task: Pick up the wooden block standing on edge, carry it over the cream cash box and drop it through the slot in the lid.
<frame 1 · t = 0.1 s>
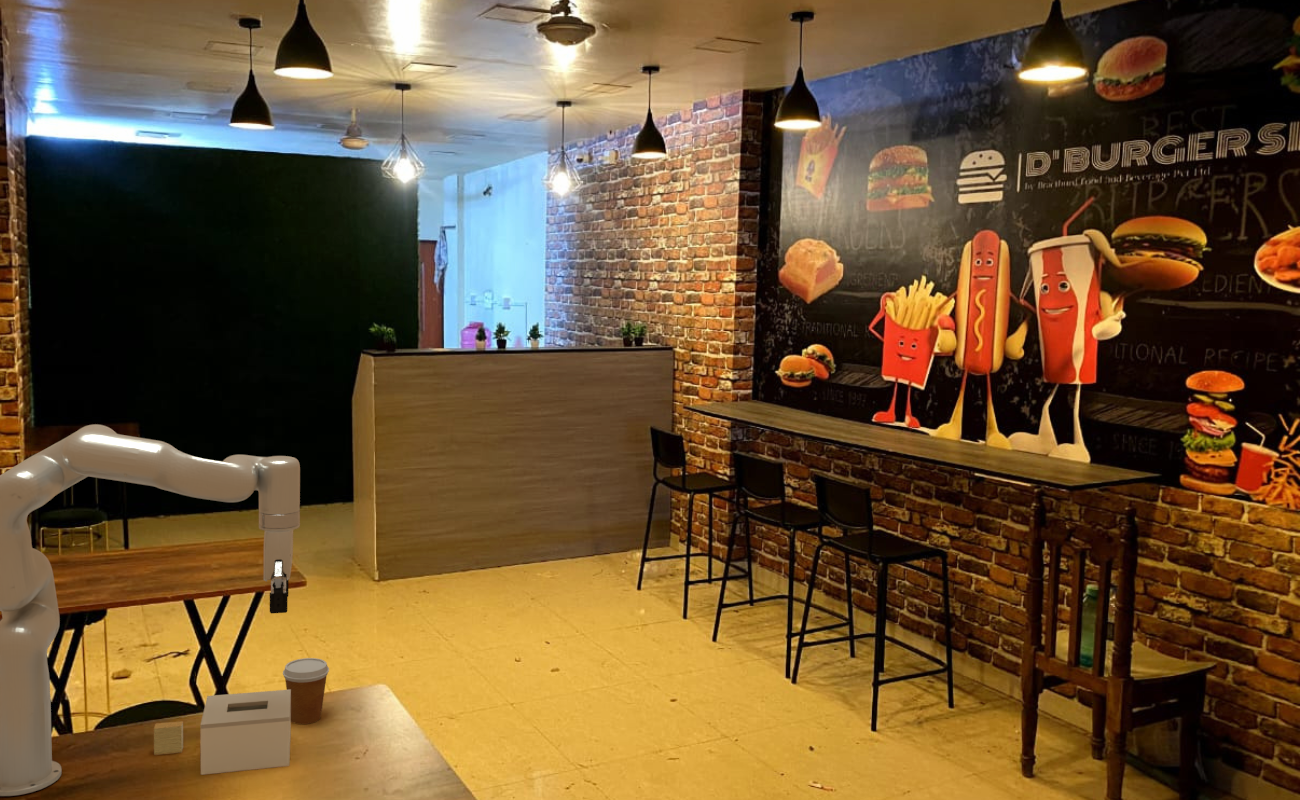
hand: (279, 604, 201), 31 cm above the table, fingers open, 9 cm apart
disposable coffee cup: (305, 719, 222), on the table
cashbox: (247, 754, 205), on the table
wooden block: (168, 751, 205), on the table
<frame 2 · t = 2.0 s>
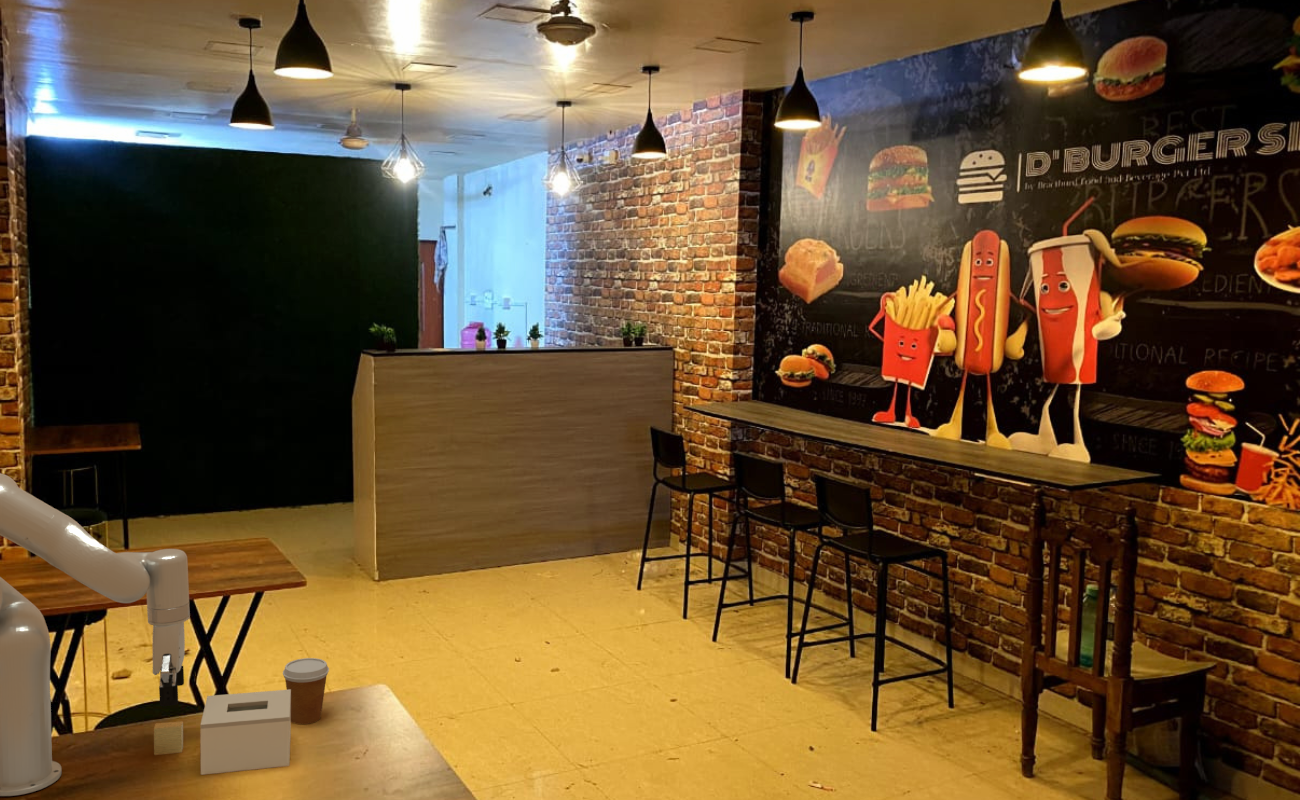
hand: (172, 695, 204), 11 cm above the table, fingers open, 9 cm apart
nothing on the table moved.
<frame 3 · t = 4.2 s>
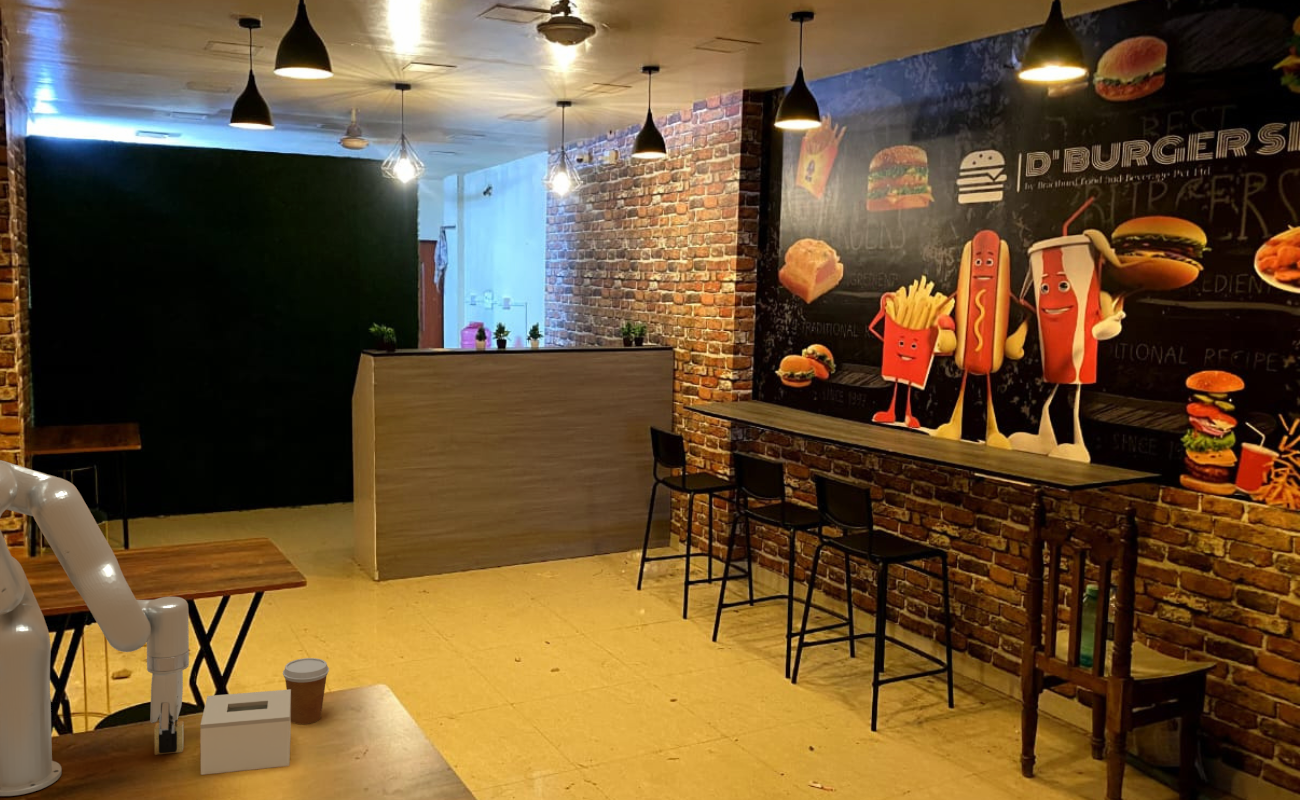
hand: (168, 748, 205), 1 cm above the table, fingers closed on wooden block, 2 cm apart
wooden block: (169, 750, 205), on the table, touching gripper
everything else where it was.
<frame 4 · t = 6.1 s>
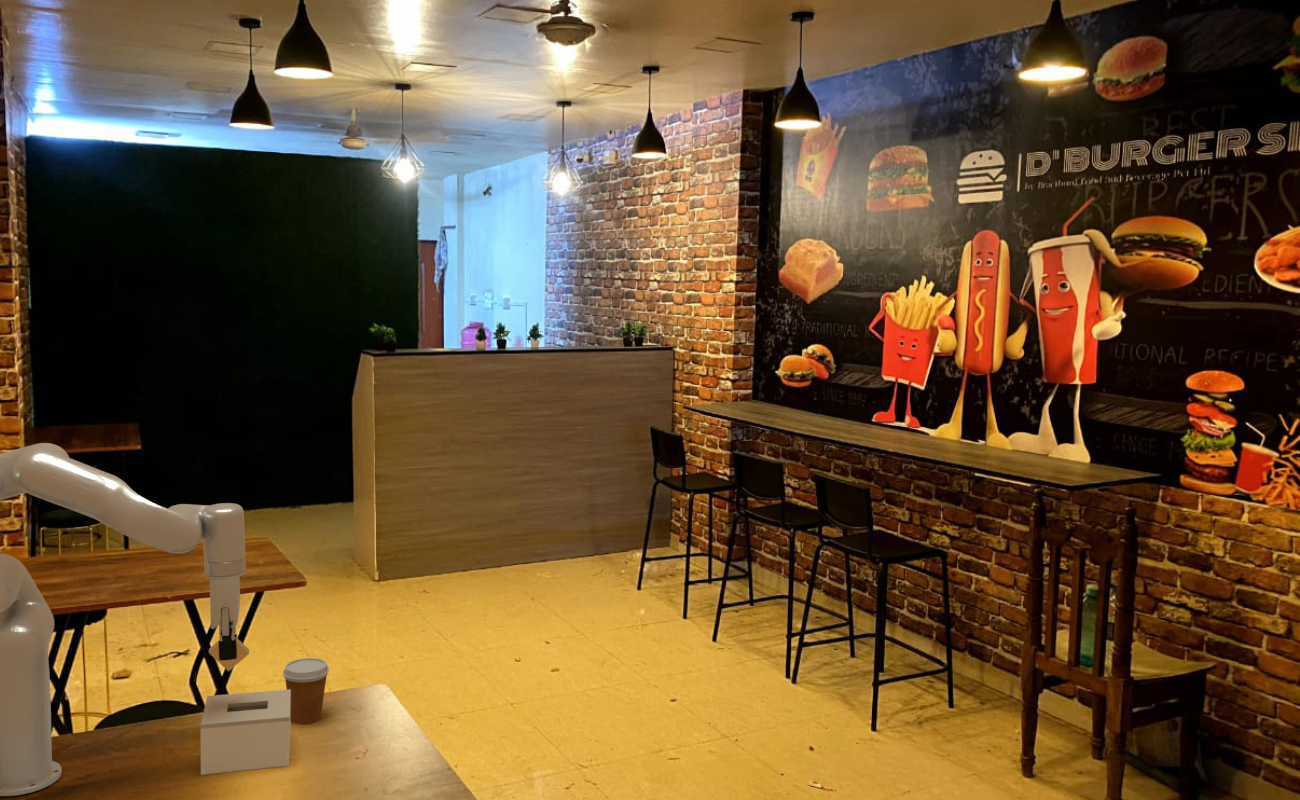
hand: (228, 656, 203), 20 cm above the table, fingers closed on wooden block
wooden block: (239, 660, 204), point 19 cm above the table, tilted 41°, touching gripper
everything else where it was.
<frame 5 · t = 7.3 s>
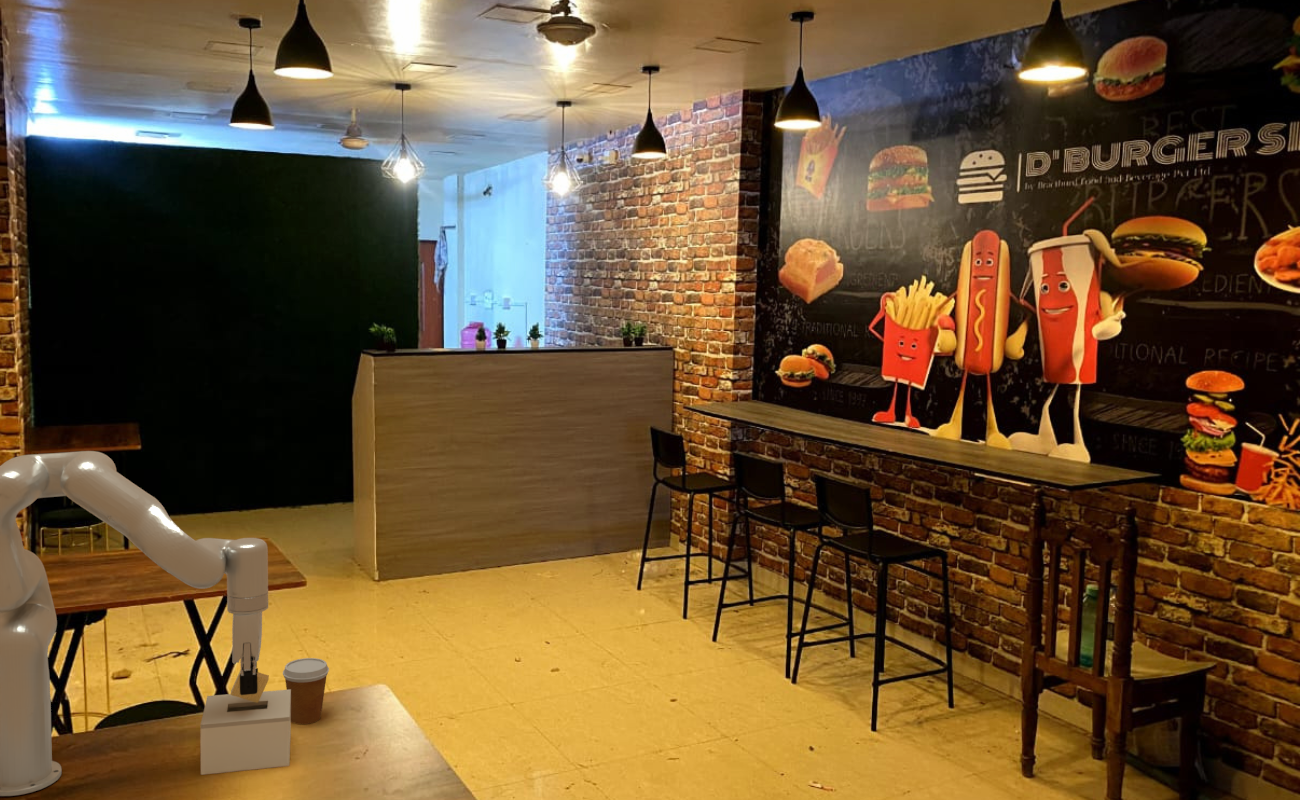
hand: (249, 690, 203), 13 cm above the table, fingers closed on wooden block
wooden block: (263, 689, 204), point 13 cm above the table, tilted 67°, touching gripper
everything else where it was.
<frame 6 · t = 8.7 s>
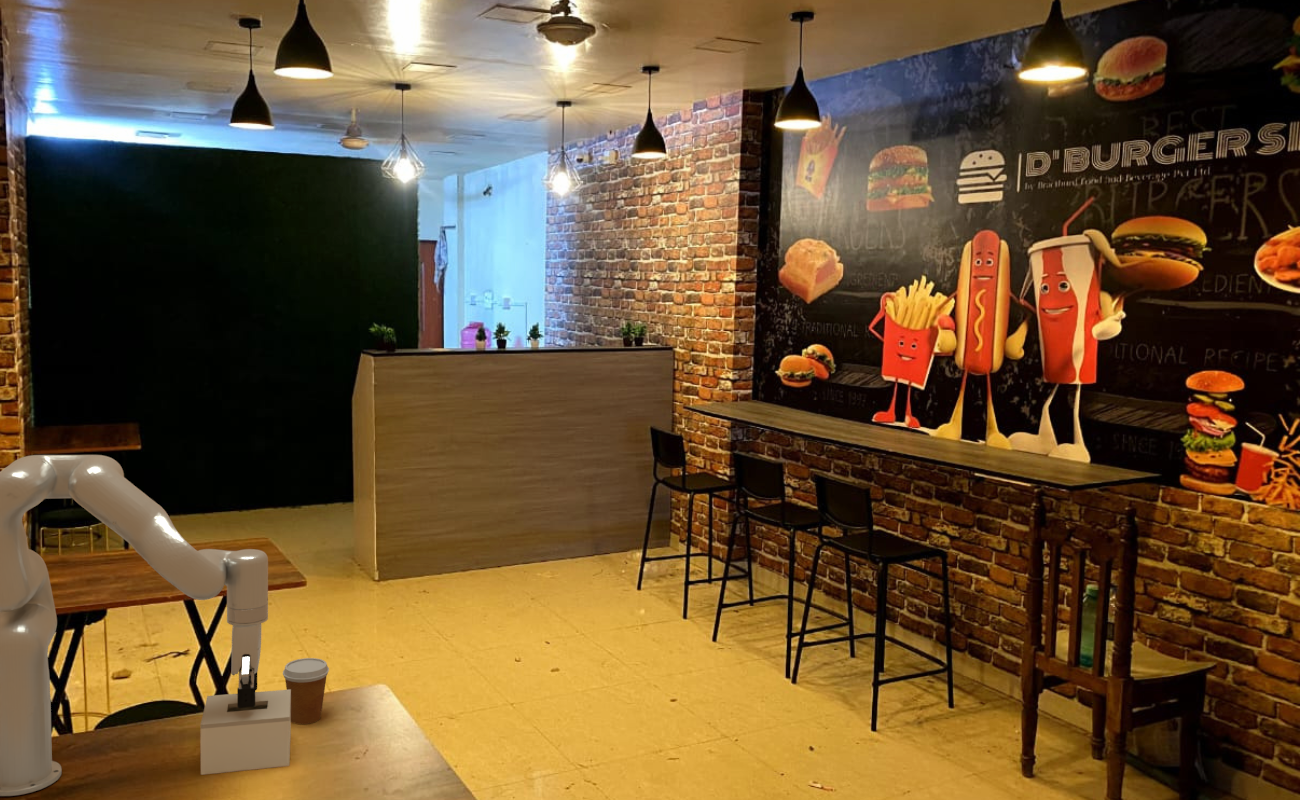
hand: (247, 698, 203), 12 cm above the table, fingers open, 7 cm apart
wooden block: (262, 737, 205), point 3 cm above the table, tilted 90°, touching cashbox
everything else where it was.
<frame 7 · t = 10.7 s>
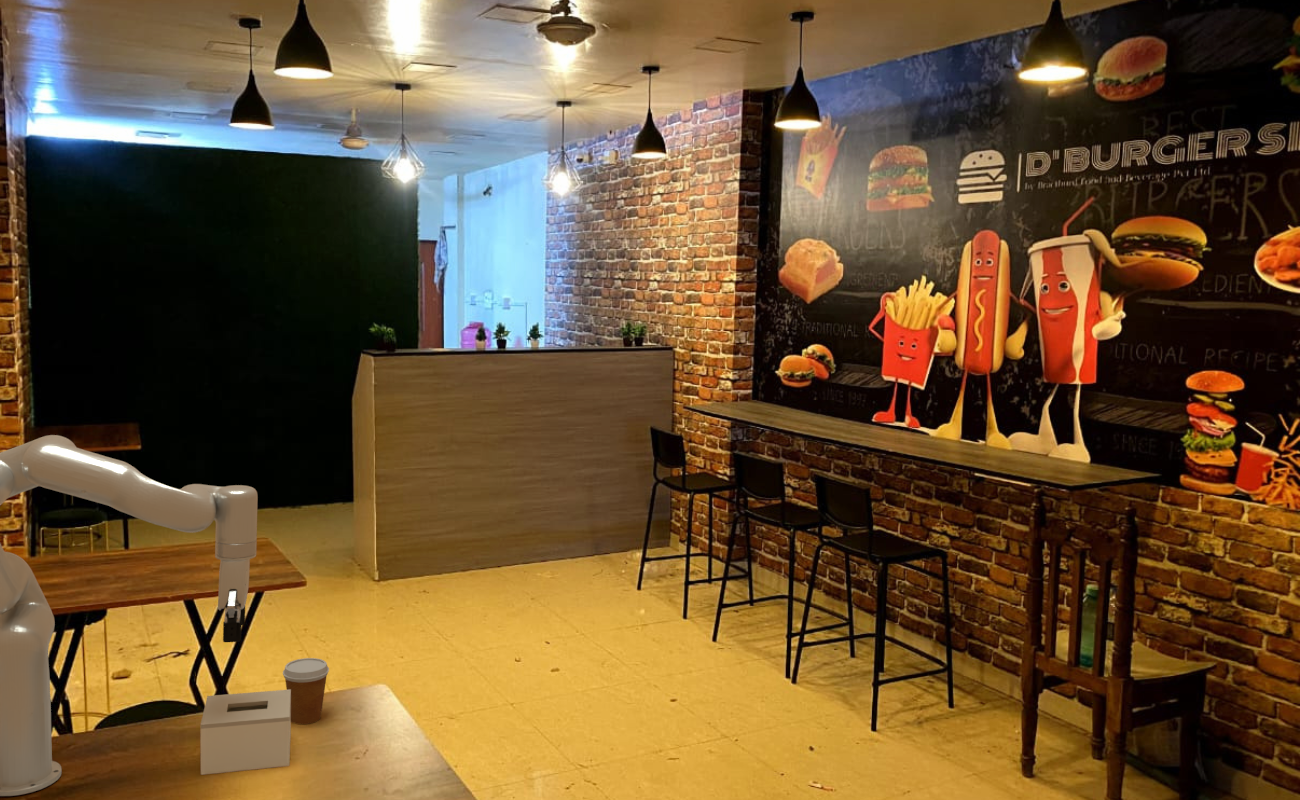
hand: (234, 633, 202), 25 cm above the table, fingers open, 9 cm apart
nothing on the table moved.
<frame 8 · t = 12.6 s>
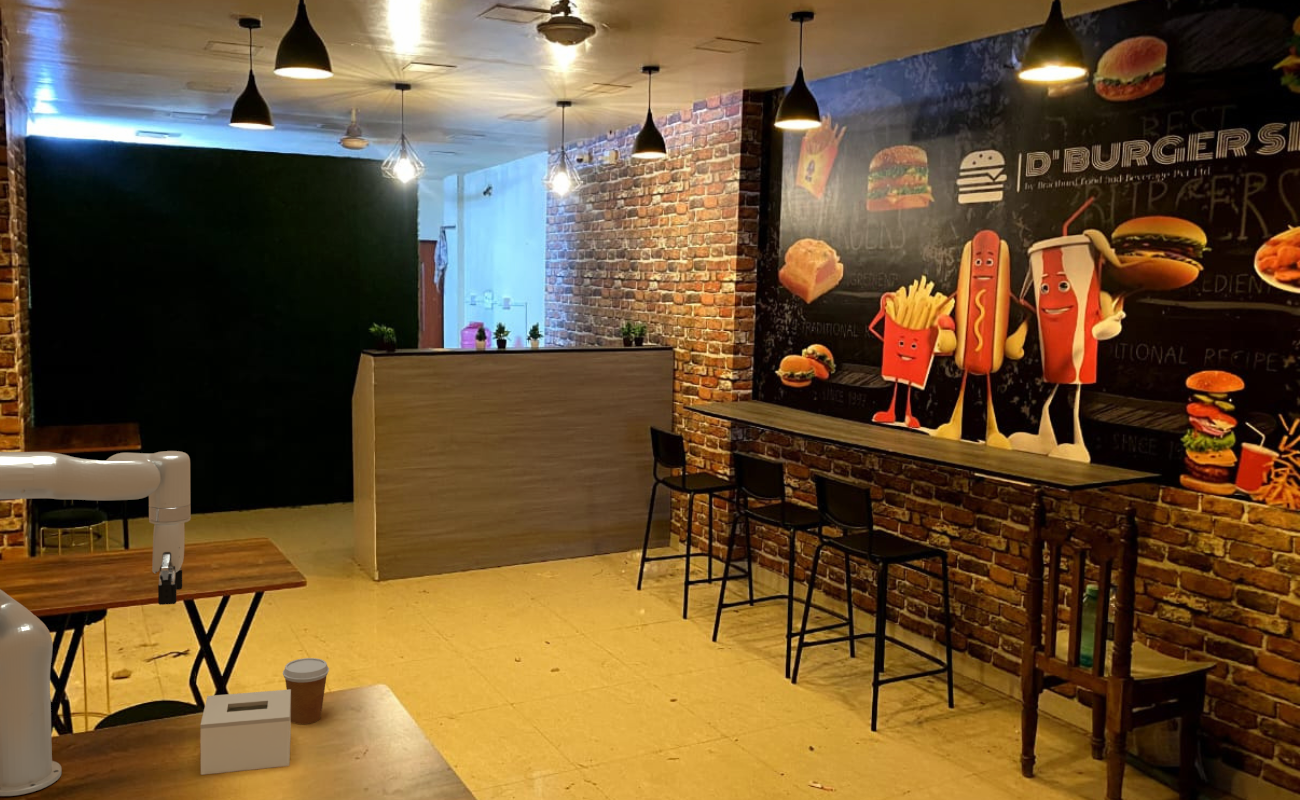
hand: (170, 596, 206), 30 cm above the table, fingers open, 9 cm apart
nothing on the table moved.
at the end: wooden block inside the target area on the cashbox (2.8 cm from its centre), point 3.3 cm above the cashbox's base; the gripper is holding nothing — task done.
